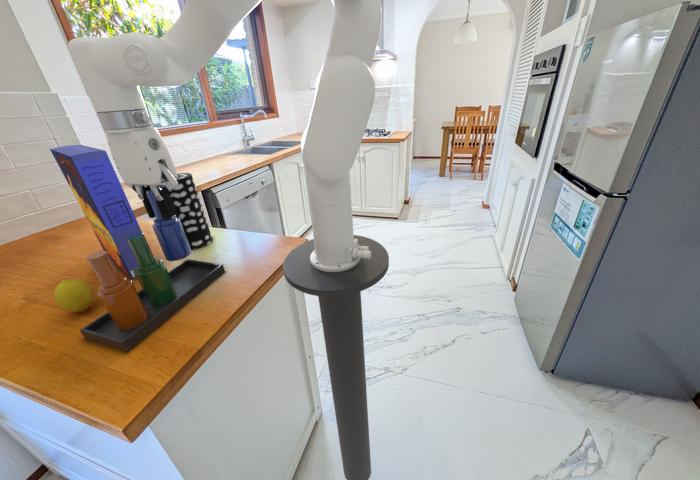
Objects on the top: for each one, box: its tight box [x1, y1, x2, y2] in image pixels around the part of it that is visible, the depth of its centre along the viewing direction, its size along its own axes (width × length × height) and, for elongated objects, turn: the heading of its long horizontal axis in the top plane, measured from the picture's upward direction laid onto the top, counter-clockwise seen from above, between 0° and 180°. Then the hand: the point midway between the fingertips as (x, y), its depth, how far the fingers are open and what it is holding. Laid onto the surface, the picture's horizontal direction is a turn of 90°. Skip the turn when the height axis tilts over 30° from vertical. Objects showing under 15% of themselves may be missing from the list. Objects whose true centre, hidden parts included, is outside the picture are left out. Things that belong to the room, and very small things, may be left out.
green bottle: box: [127, 232, 177, 306], centre depth 59 cm, size 5×5×15 cm
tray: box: [79, 258, 226, 353], centre depth 62 cm, size 11×25×2 cm, turn 161°
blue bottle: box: [146, 188, 192, 262], centre depth 61 cm, size 5×5×15 cm
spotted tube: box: [159, 172, 213, 250], centre depth 82 cm, size 8×8×20 cm
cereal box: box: [49, 144, 143, 280], centre depth 72 cm, size 22×6×30 cm, turn 51°
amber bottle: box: [86, 250, 149, 331], centre depth 53 cm, size 5×5×15 cm
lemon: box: [53, 278, 95, 313], centre depth 59 cm, size 6×6×8 cm
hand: (163, 215), depth 60 cm, fingers closed on blue bottle, 2 cm apart
